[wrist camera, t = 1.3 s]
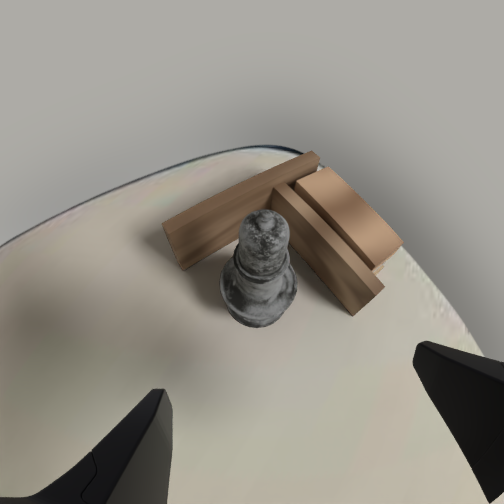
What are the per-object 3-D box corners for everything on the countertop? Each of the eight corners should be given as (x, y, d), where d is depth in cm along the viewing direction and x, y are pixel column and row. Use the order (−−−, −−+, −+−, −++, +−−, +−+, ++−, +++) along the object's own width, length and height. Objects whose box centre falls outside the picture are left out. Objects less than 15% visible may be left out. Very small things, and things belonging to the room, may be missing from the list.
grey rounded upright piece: (295, 276, 25) (329, 183, 15) (282, 338, 22) (317, 278, 12) (233, 261, 26) (227, 162, 15) (214, 320, 23) (188, 246, 12)
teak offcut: (394, 254, 22) (403, 242, 21) (366, 277, 21) (375, 265, 19) (323, 180, 26) (328, 166, 25) (293, 195, 25) (296, 180, 23)
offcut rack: (389, 282, 25) (419, 251, 20) (263, 386, 20) (270, 382, 15) (301, 191, 30) (311, 150, 25) (177, 261, 25) (161, 223, 20)
